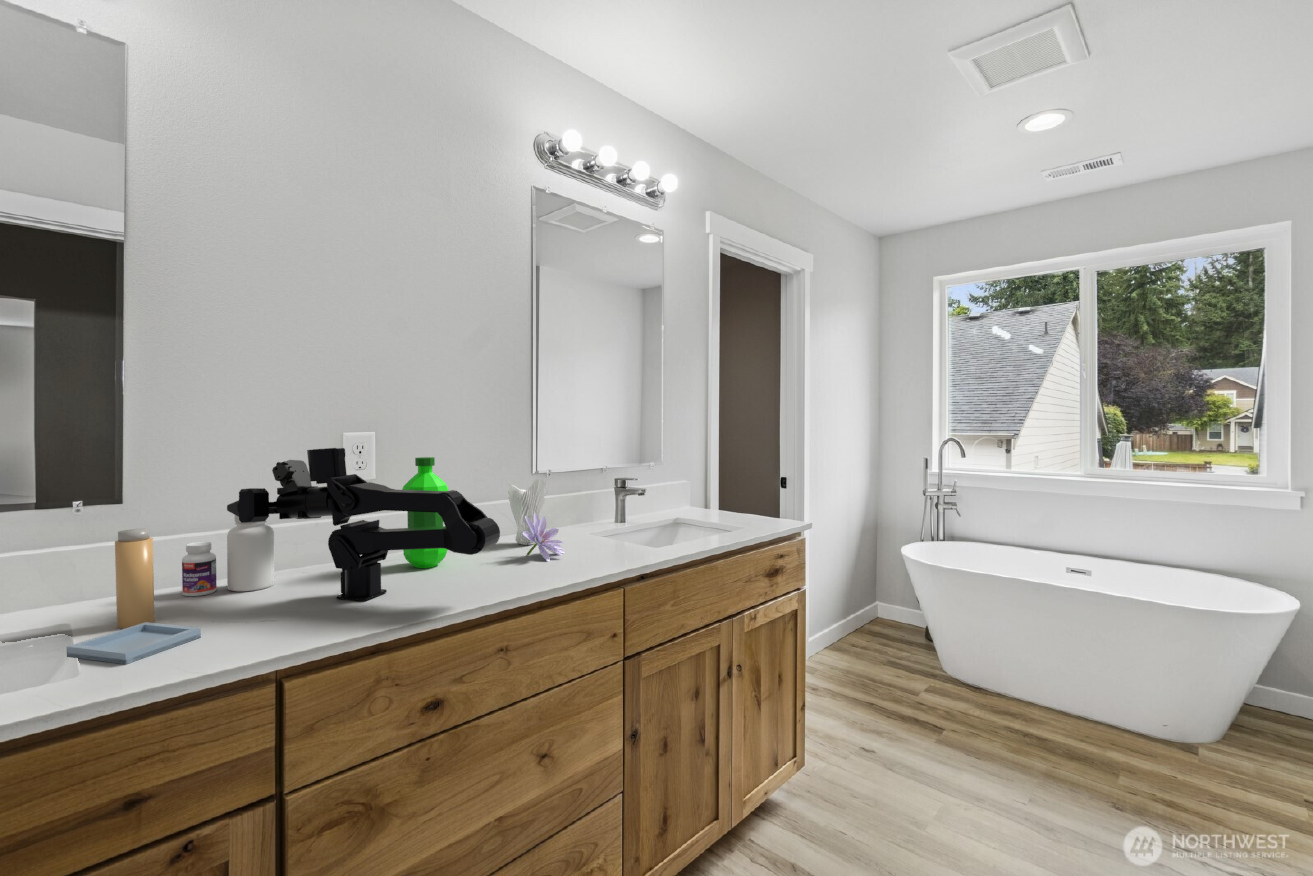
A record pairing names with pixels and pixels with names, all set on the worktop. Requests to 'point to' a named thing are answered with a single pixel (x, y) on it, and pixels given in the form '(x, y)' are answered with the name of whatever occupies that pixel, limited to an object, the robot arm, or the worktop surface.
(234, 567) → the pill bottle
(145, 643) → the tray
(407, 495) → the robot arm
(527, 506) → the shell sculpture
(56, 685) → the worktop surface
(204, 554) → the pill bottle
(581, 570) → the worktop surface
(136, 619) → the cylinder
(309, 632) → the worktop surface
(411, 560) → the plastic bottle
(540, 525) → the water lily
